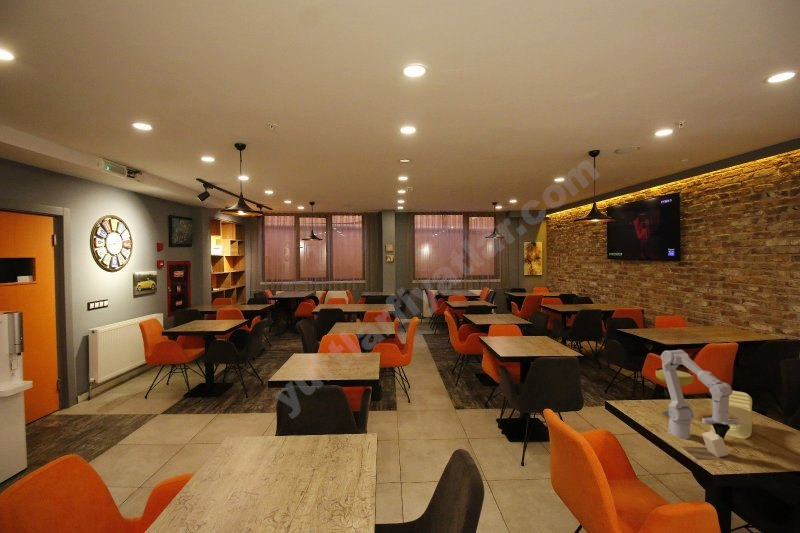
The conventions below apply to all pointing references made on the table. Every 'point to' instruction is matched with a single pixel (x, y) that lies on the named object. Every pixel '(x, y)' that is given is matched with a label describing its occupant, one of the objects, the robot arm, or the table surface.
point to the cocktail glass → (683, 379)
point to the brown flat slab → (705, 454)
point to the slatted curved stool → (739, 414)
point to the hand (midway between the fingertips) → (720, 439)
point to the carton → (715, 444)
